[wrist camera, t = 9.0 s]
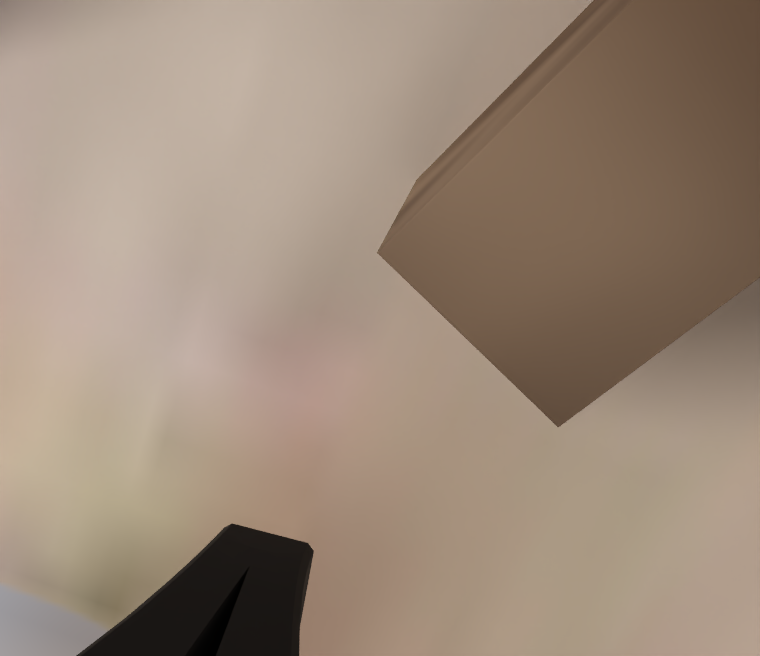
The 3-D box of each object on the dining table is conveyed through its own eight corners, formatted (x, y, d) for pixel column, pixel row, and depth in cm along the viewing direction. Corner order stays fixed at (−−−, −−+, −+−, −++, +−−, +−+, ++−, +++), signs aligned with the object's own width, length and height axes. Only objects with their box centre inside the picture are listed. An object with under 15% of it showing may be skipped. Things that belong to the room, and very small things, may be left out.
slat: (539, 300, 15) (558, 427, 10) (417, 178, 14) (376, 252, 9) (1052, -130, 11) (1458, -243, 6) (912, -323, 10) (1249, -609, 6)
